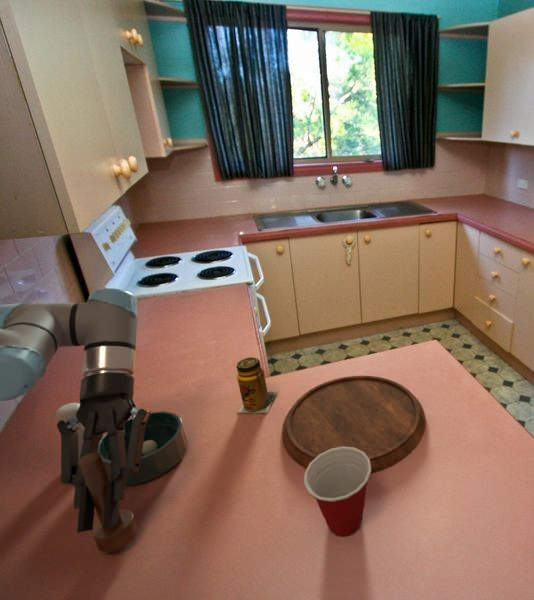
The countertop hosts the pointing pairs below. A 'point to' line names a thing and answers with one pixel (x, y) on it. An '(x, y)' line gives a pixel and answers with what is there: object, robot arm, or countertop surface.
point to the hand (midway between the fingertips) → (97, 528)
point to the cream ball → (149, 447)
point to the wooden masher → (96, 485)
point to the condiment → (253, 387)
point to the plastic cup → (340, 487)
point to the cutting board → (355, 421)
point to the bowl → (169, 446)
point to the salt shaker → (67, 413)
